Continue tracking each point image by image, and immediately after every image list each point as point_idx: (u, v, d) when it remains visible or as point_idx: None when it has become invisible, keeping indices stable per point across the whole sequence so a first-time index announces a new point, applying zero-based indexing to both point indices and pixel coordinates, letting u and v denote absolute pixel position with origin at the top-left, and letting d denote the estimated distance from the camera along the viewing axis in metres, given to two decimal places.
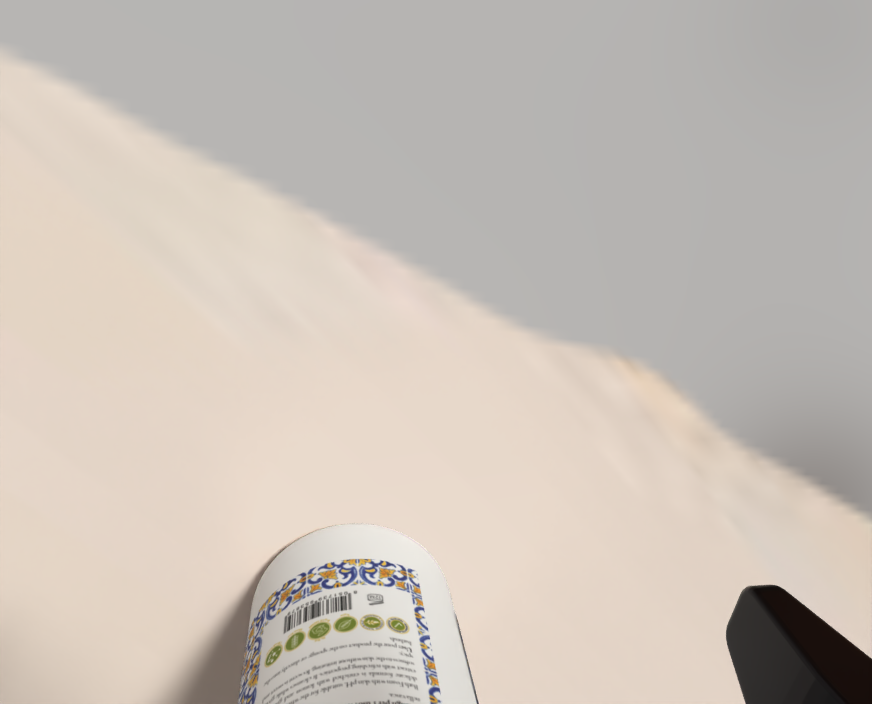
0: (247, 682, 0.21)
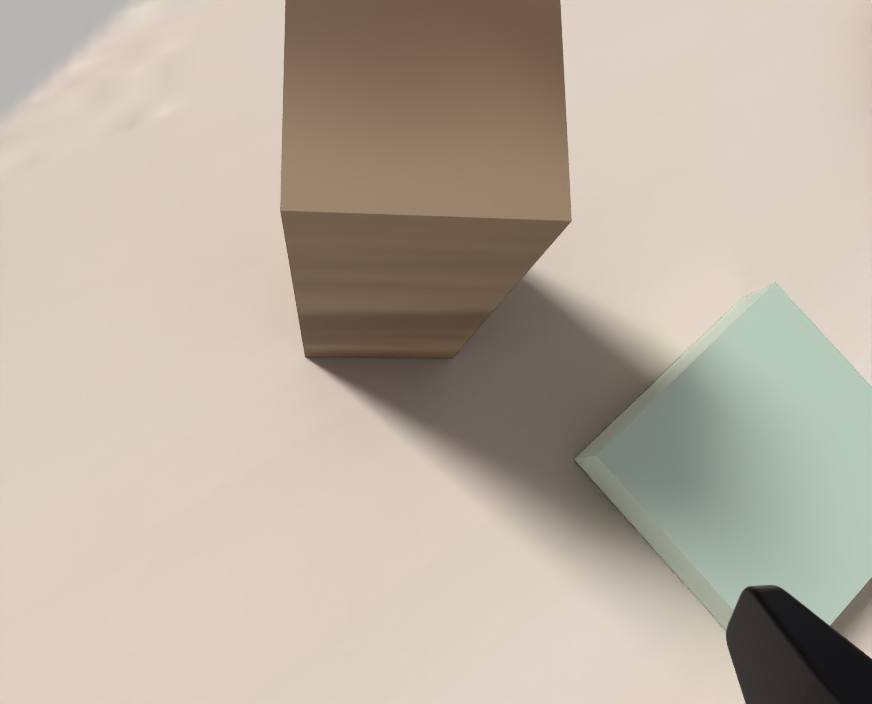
0: None
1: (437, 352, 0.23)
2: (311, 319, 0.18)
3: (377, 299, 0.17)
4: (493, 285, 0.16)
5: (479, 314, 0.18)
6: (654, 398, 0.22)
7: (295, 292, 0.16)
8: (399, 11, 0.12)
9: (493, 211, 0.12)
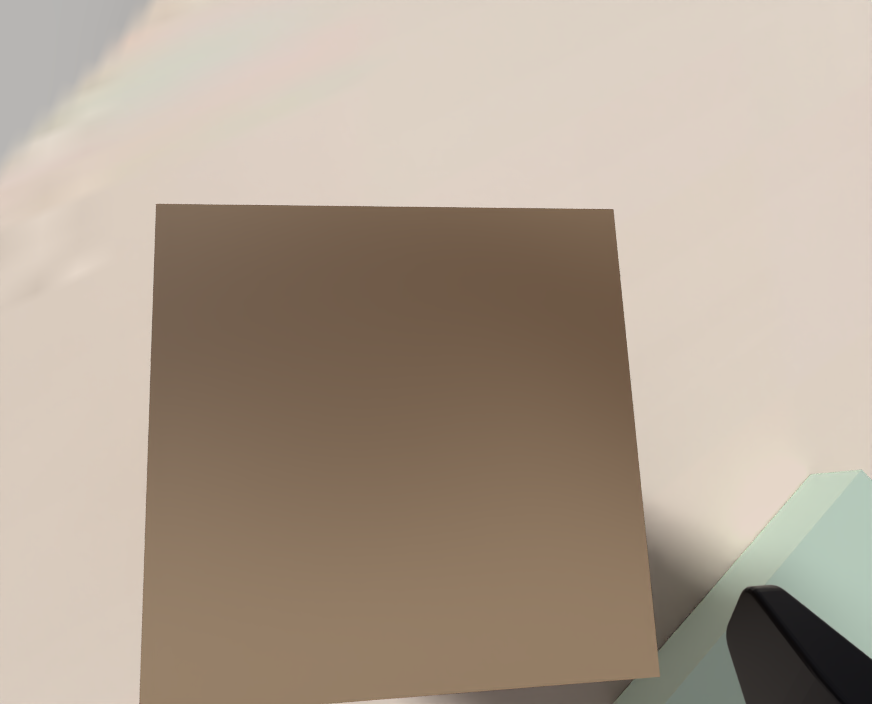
0: None
1: None
2: None
3: None
4: None
5: None
6: (717, 638, 0.17)
7: None
8: (351, 309, 0.07)
9: (525, 672, 0.07)
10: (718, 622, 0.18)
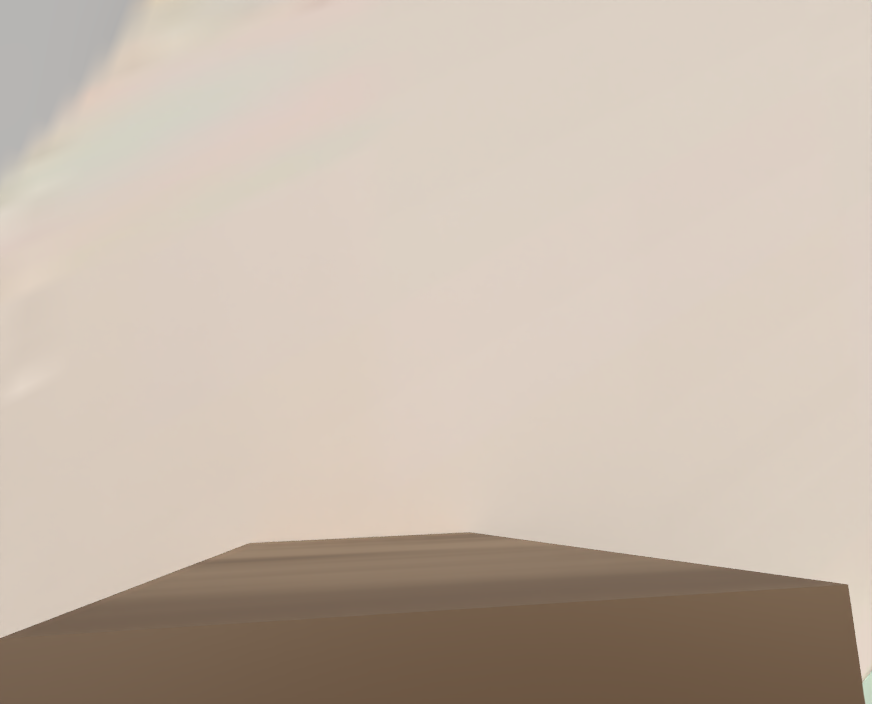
0: None
1: None
2: None
3: None
4: None
5: None
6: None
7: None
8: None
9: None
10: None
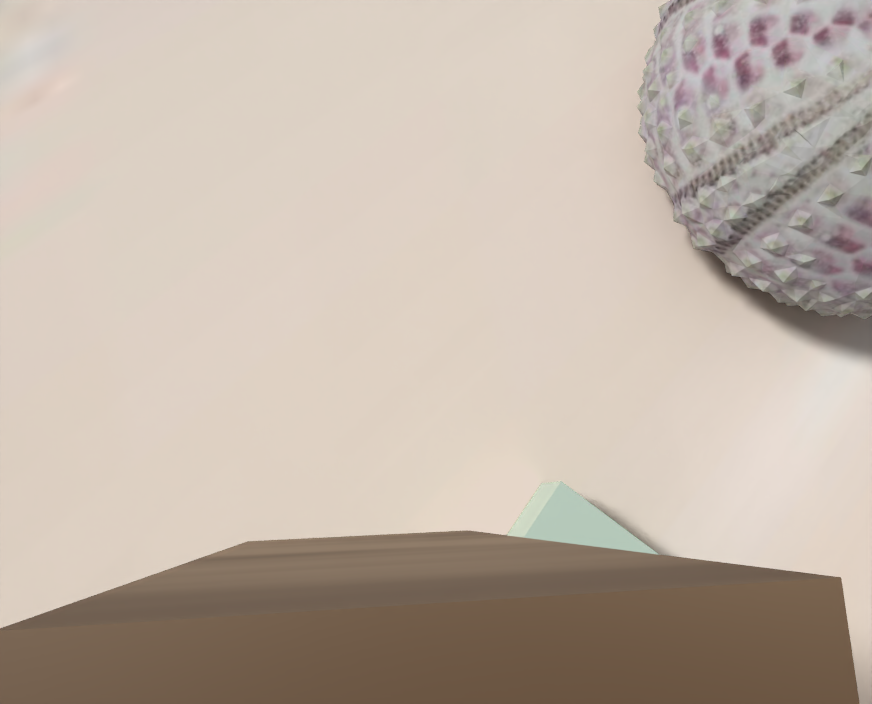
0: None
1: None
2: None
3: None
4: None
5: None
6: None
7: None
8: None
9: None
10: None
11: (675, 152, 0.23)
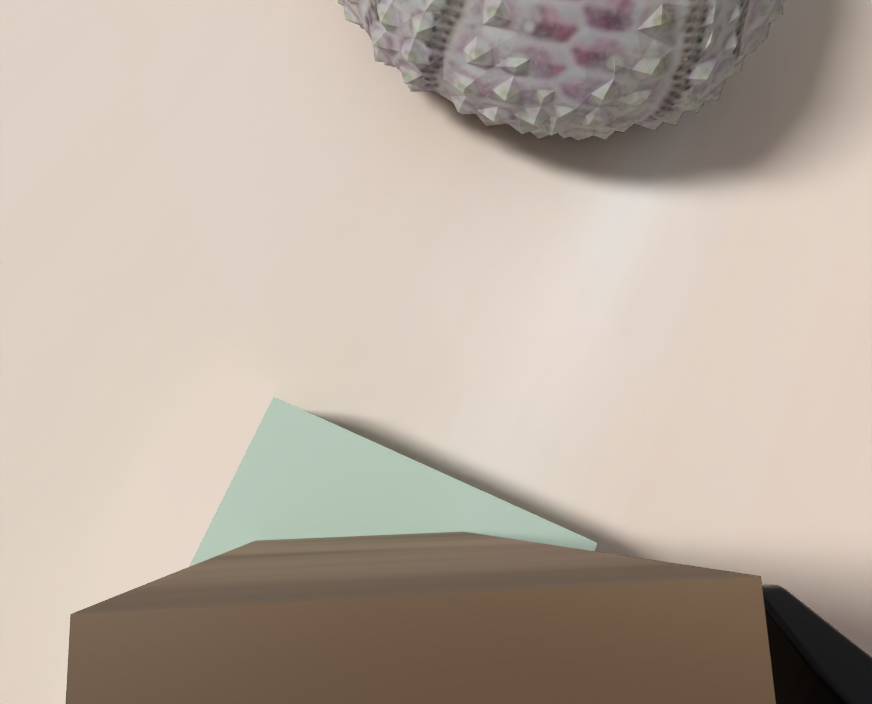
0: None
1: None
2: None
3: None
4: None
5: None
6: None
7: None
8: None
9: None
10: None
11: None
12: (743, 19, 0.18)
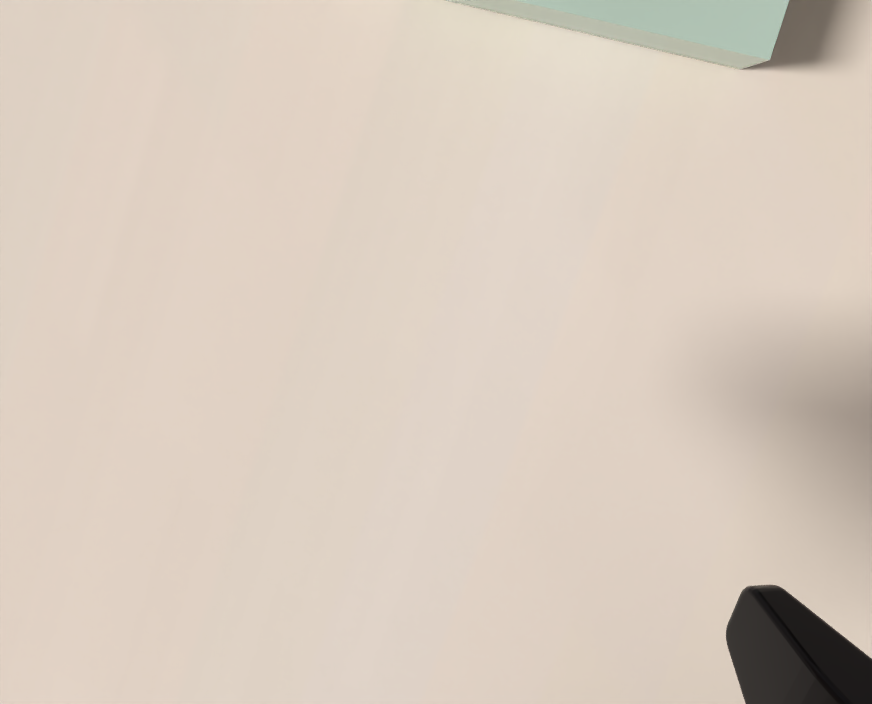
0: None
1: None
2: None
3: None
4: None
5: None
6: None
7: None
8: None
9: None
10: None
11: None
12: None
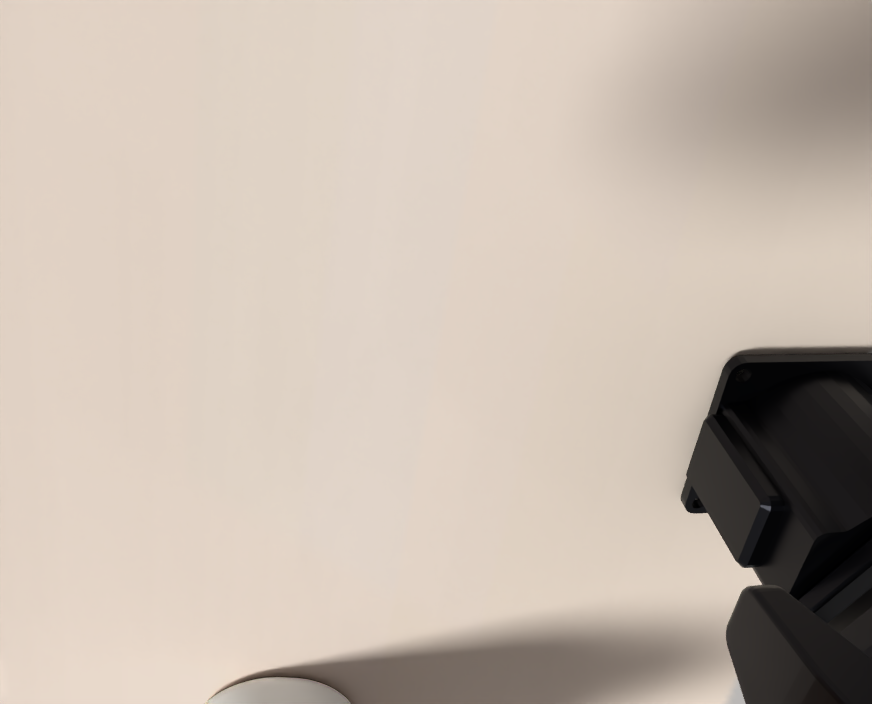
0: None
1: None
2: None
3: None
4: None
5: None
6: None
7: None
8: None
9: None
10: None
11: None
12: None
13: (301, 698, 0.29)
